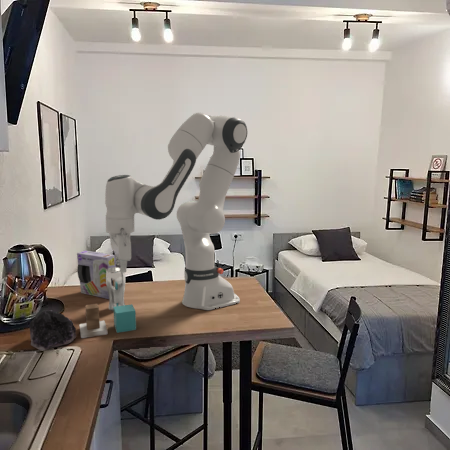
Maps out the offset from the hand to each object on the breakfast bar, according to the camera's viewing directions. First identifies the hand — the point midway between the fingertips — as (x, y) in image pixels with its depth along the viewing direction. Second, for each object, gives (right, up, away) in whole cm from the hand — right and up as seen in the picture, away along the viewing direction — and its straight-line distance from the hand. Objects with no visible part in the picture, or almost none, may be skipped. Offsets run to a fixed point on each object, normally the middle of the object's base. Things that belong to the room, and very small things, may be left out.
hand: (121, 268), depth 132 cm
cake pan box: (-18, -15, +35) cm, 42 cm away
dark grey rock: (-19, -22, -6) cm, 30 cm away
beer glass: (-7, -17, +21) cm, 28 cm away
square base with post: (-9, -21, 0) cm, 22 cm away
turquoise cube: (+1, -20, +3) cm, 20 cm away
